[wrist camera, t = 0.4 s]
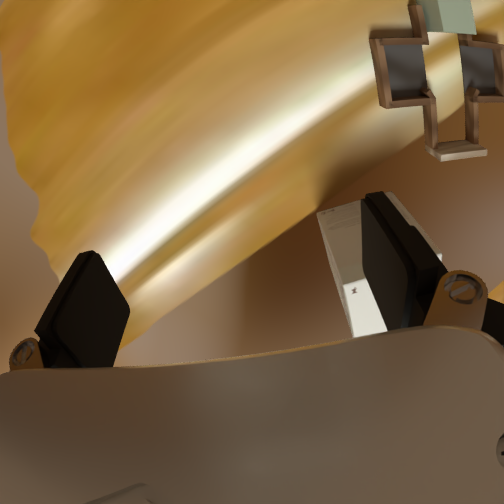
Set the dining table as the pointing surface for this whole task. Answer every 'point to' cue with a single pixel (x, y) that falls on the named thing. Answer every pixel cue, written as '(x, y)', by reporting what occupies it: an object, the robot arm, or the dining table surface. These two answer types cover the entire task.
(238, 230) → the dining table surface
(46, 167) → the dining table surface
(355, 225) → the supplement box
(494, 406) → the robot arm
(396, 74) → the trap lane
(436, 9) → the block
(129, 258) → the dining table surface
